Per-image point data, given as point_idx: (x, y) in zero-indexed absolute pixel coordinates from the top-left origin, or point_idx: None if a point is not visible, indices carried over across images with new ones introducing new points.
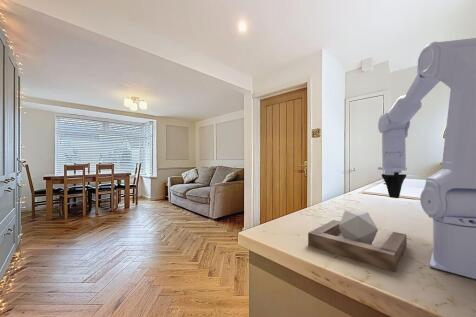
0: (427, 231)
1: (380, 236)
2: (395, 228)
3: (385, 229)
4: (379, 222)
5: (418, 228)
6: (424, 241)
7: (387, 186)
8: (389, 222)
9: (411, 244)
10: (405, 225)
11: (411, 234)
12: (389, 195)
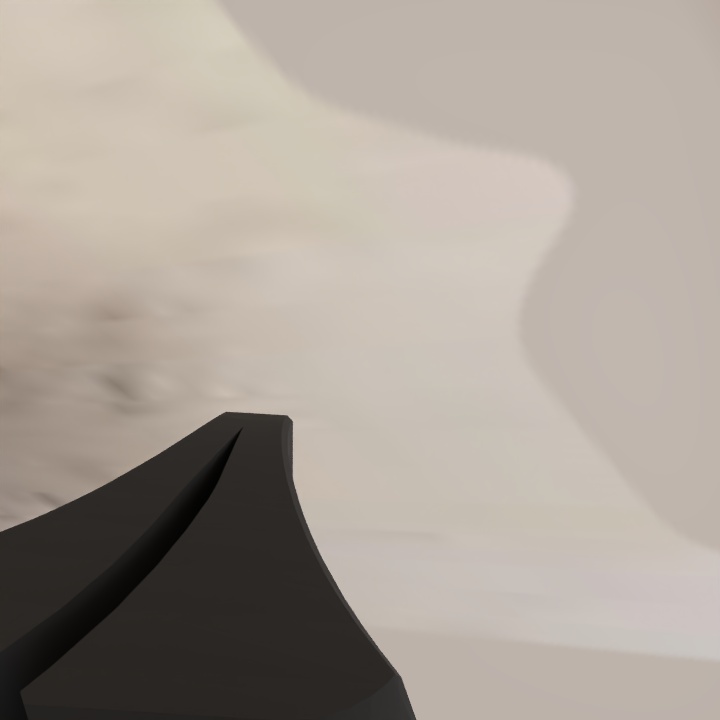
0: (394, 484)
1: (20, 265)
2: (322, 324)
3: (234, 269)
4: (437, 195)
5: (439, 444)
6: None
7: (91, 502)
8: (496, 267)
9: (28, 421)
10: (472, 374)
11: None
12: (208, 423)
